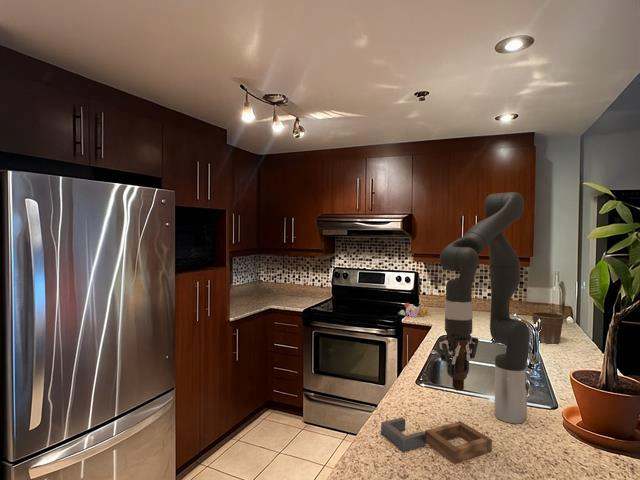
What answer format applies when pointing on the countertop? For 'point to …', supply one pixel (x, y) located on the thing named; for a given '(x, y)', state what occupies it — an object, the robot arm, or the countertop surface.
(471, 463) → the countertop surface
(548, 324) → the plant pot
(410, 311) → the pastel sphere sculpture
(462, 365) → the bolt
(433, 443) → the square frame block
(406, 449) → the block
